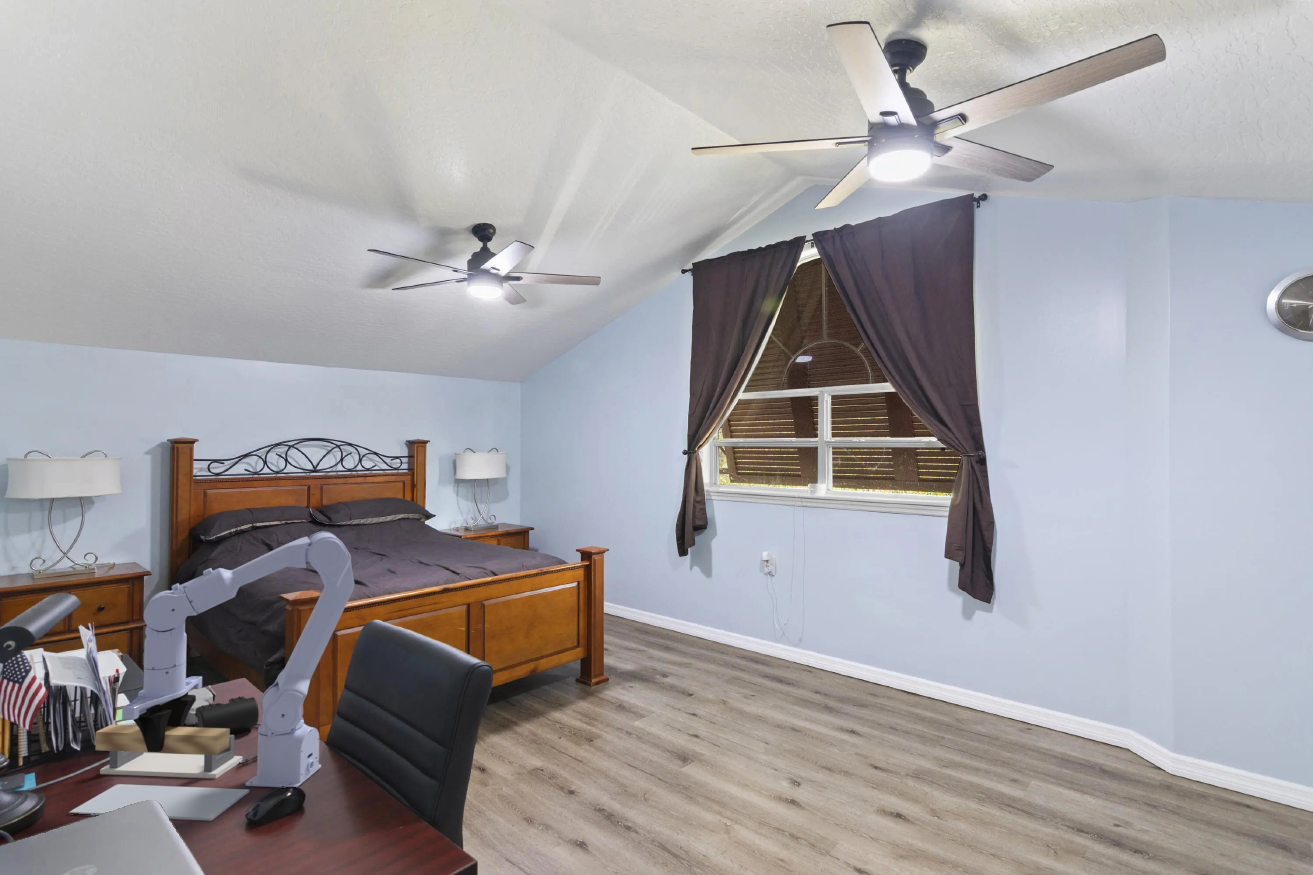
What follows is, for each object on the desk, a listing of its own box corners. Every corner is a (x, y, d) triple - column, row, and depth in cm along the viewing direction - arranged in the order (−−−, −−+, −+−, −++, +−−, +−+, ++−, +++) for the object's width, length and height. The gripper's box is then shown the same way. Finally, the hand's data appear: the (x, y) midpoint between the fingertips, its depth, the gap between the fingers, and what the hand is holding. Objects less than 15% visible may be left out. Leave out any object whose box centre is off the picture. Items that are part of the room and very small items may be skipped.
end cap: (202, 748, 132) (203, 714, 132) (192, 738, 137) (192, 704, 137) (258, 732, 140) (259, 700, 140) (246, 723, 144) (247, 691, 144)
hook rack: (242, 760, 127) (243, 733, 127) (216, 778, 120) (216, 750, 120) (132, 756, 128) (133, 729, 129) (99, 773, 121) (100, 745, 122)
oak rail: (229, 746, 113) (229, 728, 113) (216, 754, 110) (217, 735, 110) (111, 742, 114) (111, 724, 114) (95, 749, 111) (95, 731, 111)
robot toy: (234, 721, 147) (207, 700, 157) (235, 701, 147) (208, 681, 156) (168, 740, 138) (144, 717, 147) (169, 719, 138) (145, 696, 147)
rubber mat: (249, 791, 116) (249, 789, 116) (211, 820, 107) (211, 817, 107) (117, 786, 117) (117, 783, 117) (69, 814, 108) (69, 811, 108)
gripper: (176, 650, 120) (174, 727, 119) (104, 678, 105) (102, 765, 105) (213, 651, 119) (212, 728, 119) (147, 679, 105) (145, 767, 105)
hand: (163, 746), depth 112 cm, fingers closed on oak rail, 3 cm apart
